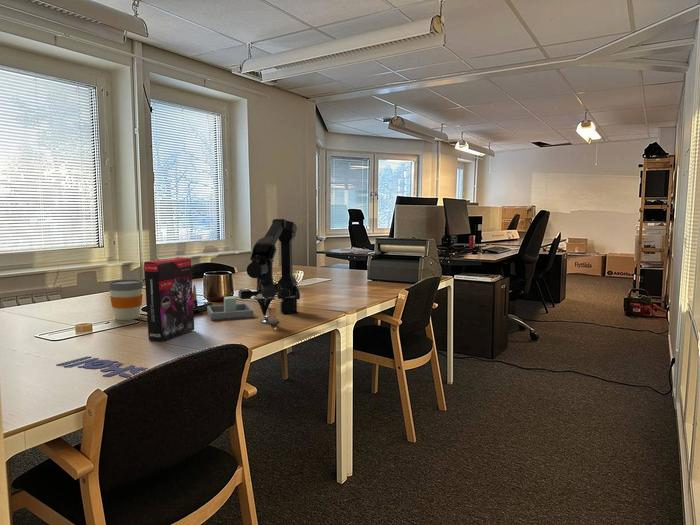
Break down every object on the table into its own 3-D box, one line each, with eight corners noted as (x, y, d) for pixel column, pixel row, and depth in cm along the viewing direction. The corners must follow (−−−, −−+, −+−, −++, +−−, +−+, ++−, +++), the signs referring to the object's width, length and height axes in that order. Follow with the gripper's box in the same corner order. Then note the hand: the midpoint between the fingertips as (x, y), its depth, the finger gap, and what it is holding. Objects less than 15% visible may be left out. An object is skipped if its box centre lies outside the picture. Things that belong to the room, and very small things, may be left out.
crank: (263, 318, 193) (263, 303, 192) (273, 318, 194) (273, 302, 193) (267, 325, 182) (267, 308, 181) (278, 324, 183) (278, 308, 182)
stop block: (234, 312, 206) (234, 296, 205) (236, 314, 202) (236, 298, 201) (224, 313, 204) (223, 296, 204) (225, 315, 200) (225, 298, 199)
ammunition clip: (176, 315, 202) (175, 287, 201) (173, 314, 203) (173, 286, 202) (198, 311, 211) (197, 284, 209) (195, 310, 212) (194, 283, 210)
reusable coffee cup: (149, 317, 197) (148, 281, 195) (117, 322, 188) (116, 285, 186) (136, 313, 205) (134, 278, 204) (105, 317, 196) (103, 281, 195)
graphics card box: (161, 342, 161) (159, 262, 158) (145, 340, 164) (142, 261, 161) (195, 330, 177) (193, 257, 174) (179, 329, 179) (177, 256, 176)
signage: (156, 368, 134) (125, 380, 125) (156, 371, 134) (125, 382, 125) (88, 354, 146) (56, 364, 137) (88, 357, 146) (56, 366, 137)
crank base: (275, 319, 196) (275, 317, 196) (286, 329, 181) (286, 327, 181) (258, 320, 193) (258, 319, 193) (267, 330, 178) (267, 328, 178)
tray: (246, 310, 214) (246, 303, 213) (253, 317, 199) (253, 310, 199) (207, 312, 207) (207, 305, 207) (211, 320, 193) (211, 313, 192)
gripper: (244, 278, 169) (244, 321, 171) (295, 277, 177) (294, 318, 179) (238, 274, 179) (237, 315, 181) (286, 273, 187) (285, 312, 189)
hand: (264, 315), depth 182 cm, fingers closed
